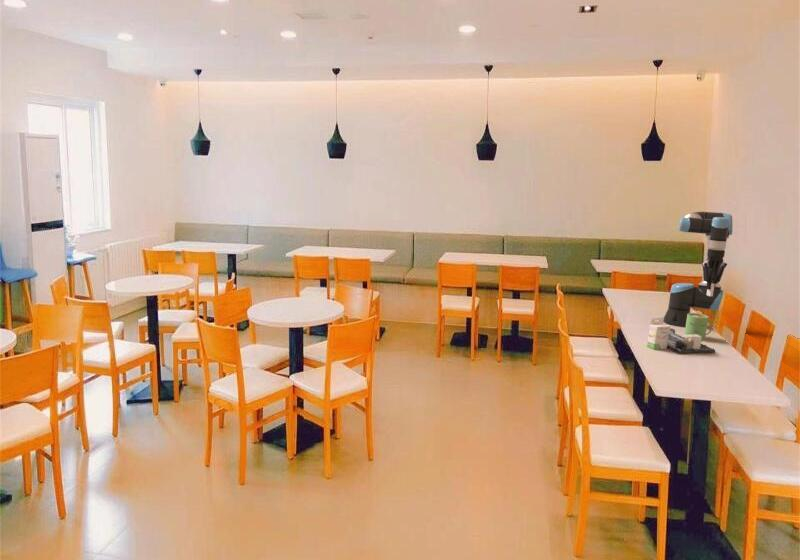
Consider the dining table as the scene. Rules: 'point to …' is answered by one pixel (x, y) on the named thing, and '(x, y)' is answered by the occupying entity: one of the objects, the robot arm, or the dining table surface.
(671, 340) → the heat sink
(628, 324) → the dining table surface
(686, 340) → the strap
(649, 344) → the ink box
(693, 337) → the lug slider
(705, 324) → the mug
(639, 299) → the dining table surface
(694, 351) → the base tray
